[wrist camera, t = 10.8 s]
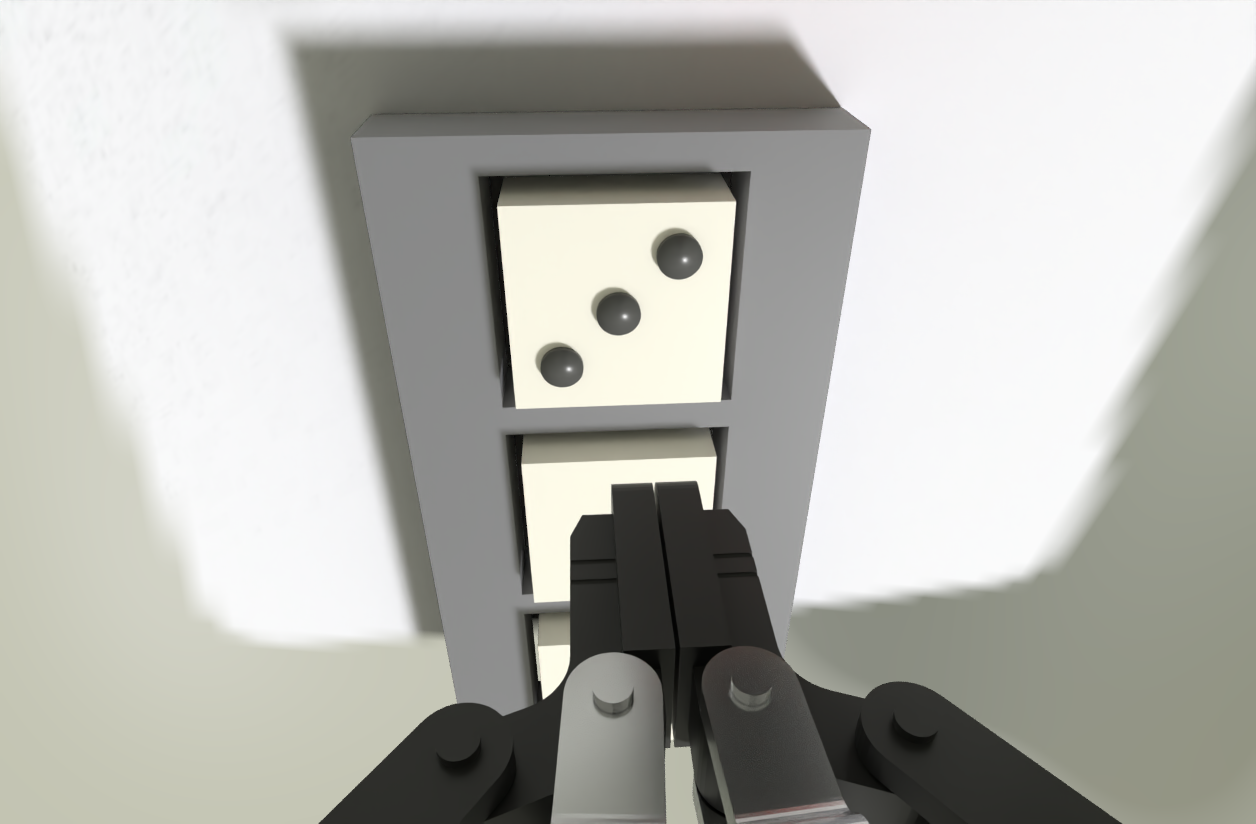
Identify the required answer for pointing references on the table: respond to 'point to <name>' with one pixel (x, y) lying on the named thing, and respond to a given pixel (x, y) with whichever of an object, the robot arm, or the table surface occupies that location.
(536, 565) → the tile one
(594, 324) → the tile three
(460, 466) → the grey tile tray
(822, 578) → the table surface
